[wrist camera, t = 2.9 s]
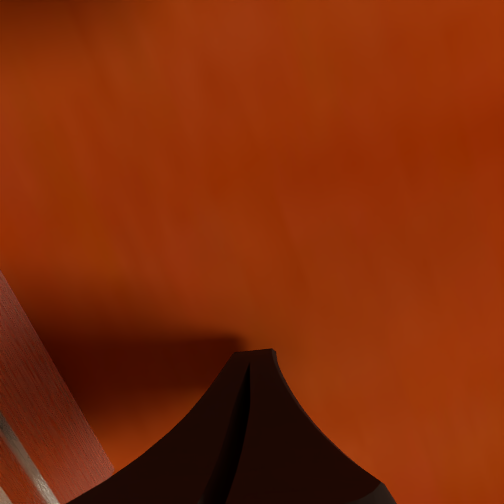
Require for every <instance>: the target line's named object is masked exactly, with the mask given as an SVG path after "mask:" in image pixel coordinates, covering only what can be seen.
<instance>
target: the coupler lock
mask: <svg viewBox="0 0 504 504" xmlns="http://www.w3.org/2000/svg"><path fill="white" fill-rule="evenodd" d="M113 471H114V467H113V465H112V464H111V462H110V460H109V458H108V457H107V455H106V453H105V451H104V450H103V448H102V446H101V444H100V443H99V441H98V439H97V437H96V436H95V434H94V432H93V430H92V429H91V427H90V425H89V424H88V422H87V420H86V418H85V417H84V415H83V413H82V411H81V410H80V408H79V406H78V404H77V403H76V401H75V399H74V397H73V396H72V394H71V392H70V390H69V389H68V387H67V385H66V383H65V382H64V380H63V378H62V376H61V375H60V373H59V371H58V369H57V368H56V366H55V364H54V362H53V361H52V359H51V357H50V355H49V354H48V352H47V350H46V348H45V347H44V345H43V343H42V342H41V340H40V338H39V336H38V335H37V333H36V331H35V329H34V328H33V326H32V324H31V322H30V321H29V319H28V317H27V315H26V314H25V312H24V310H23V308H22V307H21V305H20V303H19V301H18V300H17V298H16V296H15V294H14V293H13V291H12V289H11V287H10V286H9V284H8V282H7V280H6V279H5V277H4V275H3V273H2V272H1V270H0V504H66V503H68V502H69V501H71V500H73V499H75V498H76V497H78V496H80V495H81V494H83V493H85V492H87V491H88V490H90V489H92V488H93V487H95V486H97V485H99V484H100V483H102V482H103V481H105V480H107V479H108V478H110V477H111V476H112V473H113Z"/></svg>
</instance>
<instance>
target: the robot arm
mask: <svg viewBox="0 0 504 504" xmlns="http://www.w3.org/2000/svg"><path fill="white" fill-rule="evenodd" d="M66 504H396V502H395V500H394V499H393V497H392V495H391V494H390V492H389V491H388V489H387V488H386V486H385V485H384V484H383V483H382V482H381V481H379V480H378V479H376V478H375V477H374V476H372V475H371V474H369V473H368V472H366V471H365V470H364V469H362V468H361V467H360V466H358V465H357V464H356V463H355V462H353V461H352V460H351V459H350V458H349V457H348V456H346V455H345V454H344V453H343V452H342V451H341V450H340V449H339V448H338V447H337V446H336V445H335V444H334V443H333V442H331V441H330V440H329V439H328V438H327V437H326V436H325V435H324V434H323V433H322V431H321V430H320V429H319V428H318V427H317V426H316V425H315V424H314V422H313V421H312V420H311V419H310V417H309V416H308V415H307V414H306V412H305V411H304V410H303V408H302V407H301V405H300V404H299V403H298V401H297V399H296V398H295V396H294V395H293V393H292V392H291V390H290V388H289V386H288V384H287V383H286V381H285V379H284V377H283V375H282V373H281V370H280V368H279V365H278V362H277V356H276V351H274V350H273V349H263V350H253V351H244V352H235V353H234V354H233V355H232V356H231V357H230V359H229V360H228V362H227V363H226V365H225V366H224V368H223V369H222V371H221V372H220V373H219V375H218V376H217V378H216V379H215V380H214V382H213V383H212V384H211V386H210V387H209V388H208V390H207V391H206V392H205V394H204V395H203V396H202V397H201V399H200V400H199V401H198V402H197V403H196V404H195V406H194V407H193V408H192V409H191V410H190V412H189V413H188V414H187V415H186V416H185V417H184V418H183V419H182V420H181V421H180V422H179V423H178V424H177V425H176V426H175V427H174V428H173V429H172V430H171V431H170V432H169V433H167V434H166V435H165V436H164V437H163V438H162V439H160V440H159V441H158V442H157V443H156V444H154V445H153V446H152V447H151V448H150V449H148V450H147V451H146V452H145V453H143V454H142V455H141V456H140V457H138V458H137V459H136V460H134V461H133V462H131V463H130V464H129V465H127V466H126V467H125V468H123V469H122V470H120V471H119V472H117V473H116V474H114V475H113V476H111V477H110V478H108V479H107V480H105V481H103V482H102V483H100V484H99V485H97V486H95V487H93V488H92V489H90V490H88V491H87V492H85V493H83V494H81V495H80V496H78V497H76V498H75V499H73V500H71V501H69V502H68V503H66Z"/></svg>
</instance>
